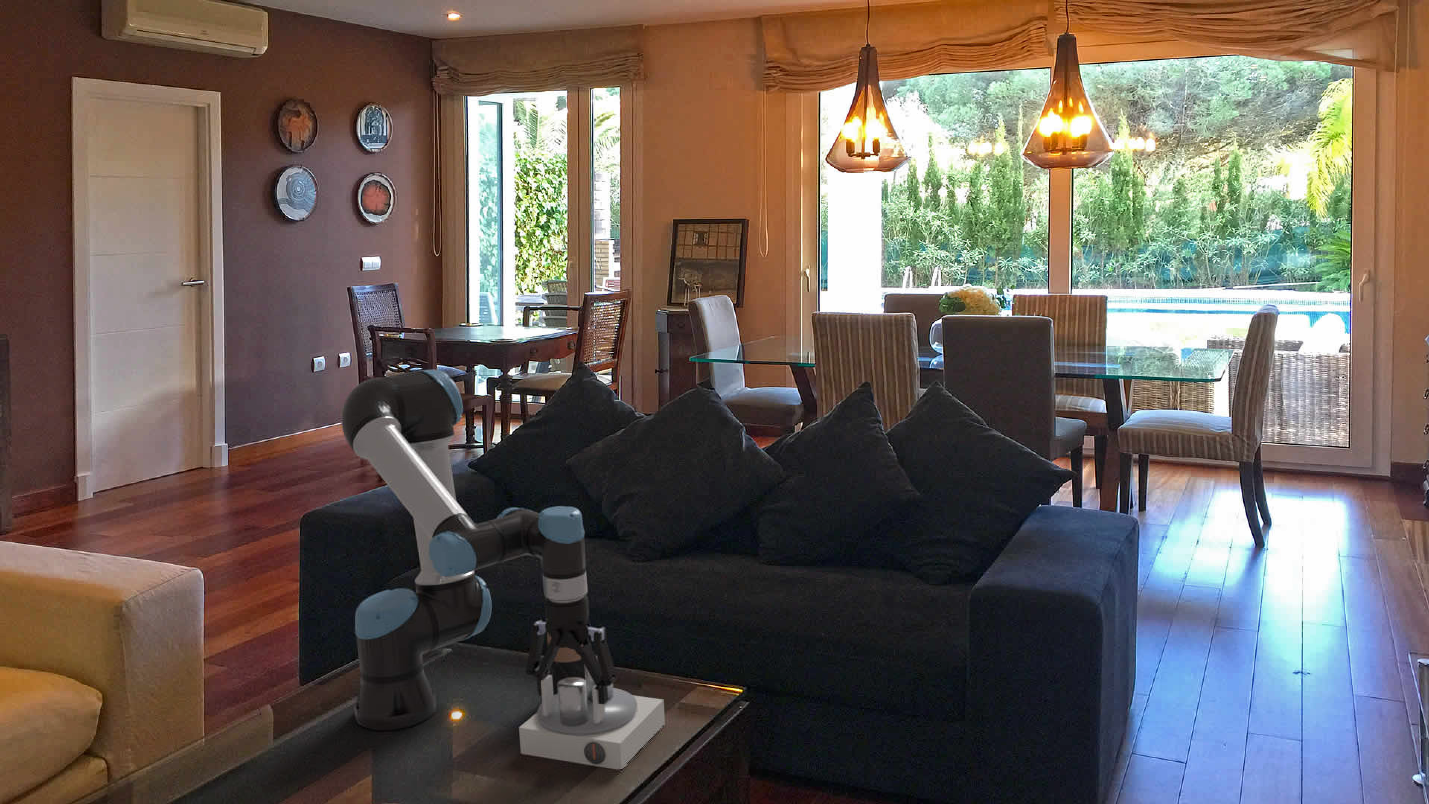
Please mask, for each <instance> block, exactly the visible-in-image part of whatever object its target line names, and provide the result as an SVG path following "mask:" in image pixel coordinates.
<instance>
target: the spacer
mask: <svg viewBox="0 0 1429 804" xmlns="http://www.w3.org/2000/svg"><path fill="white" fill-rule="evenodd" d="M557 686H558V700H559V714H560V723H561V724H562V725H564V726H569V727H574V726H580V725H583V724H585V723H586V722H587V721H588V706H587V690H586V681H585V680H584V679H583V678H578V677H571V678H565V679H563V680H561V681H559V682H558V684H557Z"/></svg>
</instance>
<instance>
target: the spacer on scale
mask: <svg viewBox="0 0 1429 804" xmlns="http://www.w3.org/2000/svg"><path fill="white" fill-rule="evenodd" d="M595 655H596V654H595ZM596 657H597V655H596ZM597 659H598V658H597ZM584 665H585V664H584ZM585 680H586V690H587V699H588V700H590V701H593V695H592V688H593V687H594V686H595V683H594V681H593V679H592V677H591V675H590V674H589V672H588V670H587V668H586V666H585ZM607 688H608V700H610V699H611V698H613V696H614V691H613V688H614V682H613V683H612V684H611V685H610V686H607Z"/></svg>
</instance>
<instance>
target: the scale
mask: <svg viewBox="0 0 1429 804" xmlns="http://www.w3.org/2000/svg"><path fill="white" fill-rule="evenodd" d="M613 691H614V696H613V698H611V699H610V700H608V701H607V702H606V703H605V704H604V706H605V717H604V718H603V719H602V720H601V721H600V722H599V723H594V710H593V701H590V700H588V699H587V706H588V721H587V722H586V723H585V724H583V725H580V726H574V727H569V726H564V725H562V724H561V723H560V714H559V700H558V694H555V695H554V710H553V711H552V712H551V713H550V714H549V715H547V716H545V715H543V704H542V703H541V704H540V705H539V706H538V708H537V711H536V712H535V714H533V715H532V716H531V717H530V718H529V719H527V721H525V722H524V723H522V724H521V725H520V726H519V727H518V733H519V745H520V754H522V755H528V756H533V757H539V758H540V757H541V758H546V759H551V760H557V761H562V762H564V761H565V762H568V763H575V764H582V765H586V766H593V767H601V768H606V769H611V770H617V771H618V769H619V771H621V770H620V769H623V768H624V767H625V768H626V767H627V765H628V764H629V763H630V762H631V761H632V760H633V759H634V758H635V757H636V756H635V754H636V753H637V752H638V751H639V750H640V749H641V748H642V747H643V746H644V745H645V744H646V743H647V742H648V741H649V740H650V739H651V738H652V737H653V736H654V734H656V733H657V731H659V730H660V731H661V729H662V728H663V727H664V726H665V725H666V723H665V721H666V720H665V702H664V700H665V699H661V698H654V697H646V696H639V695H633V694H632V693H630V692H628V691H626V690H623V689H619V688H616V687H613ZM663 725H664V726H663ZM662 726H663V727H662ZM660 728H661V729H660ZM660 731H659V732H660ZM657 734H658V733H657ZM657 734H656V735H657ZM654 737H655V736H654ZM654 737H653V738H654ZM653 738H652V739H653ZM652 739H651V740H652ZM651 740H650V741H651ZM650 741H649V742H650ZM649 742H648V743H649ZM648 743H647V744H648ZM647 744H646V745H647ZM646 745H645V746H646ZM645 746H644V747H645ZM644 747H643V748H644ZM634 756H635V757H634ZM633 757H634V758H633ZM632 758H633V759H632ZM631 759H632V760H631ZM630 760H631V761H630ZM629 761H630V762H629ZM628 762H629V763H628ZM627 763H628V764H627ZM625 768H624V769H625ZM624 769H623V770H624Z"/></svg>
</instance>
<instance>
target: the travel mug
mask: <svg viewBox="0 0 1429 804" xmlns="http://www.w3.org/2000/svg"><path fill="white" fill-rule="evenodd" d="M545 620H546V621H545V622H547V619H546V618H545ZM546 635H547V637H546V638H547V646H548V645H549V643H550V640H551V636H550V635H549V633H548V632H547V631H546ZM582 646H583V644H582V645H581V647H582ZM549 671H550V672H549V673H550V674H549V675H552V681H553V695H555V694H558V686H557V684H558V682H559V681H561V680H563V679H565V678H571V677H578V678H583V679H584V680H585V665H584V662H583V661H582V659H581V657H580V655H578V654H577V653H576V651H575V649H569V648H567V647H566V648H559V650H558V652H557V654H556V656H555V659H554V661H553V663H552V665H551V667H550V669H549ZM585 681H586V680H585Z"/></svg>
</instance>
